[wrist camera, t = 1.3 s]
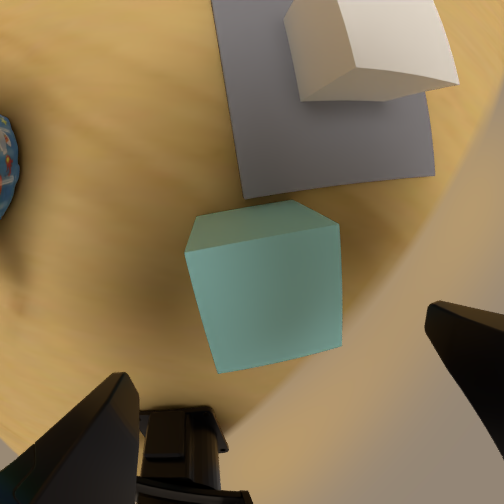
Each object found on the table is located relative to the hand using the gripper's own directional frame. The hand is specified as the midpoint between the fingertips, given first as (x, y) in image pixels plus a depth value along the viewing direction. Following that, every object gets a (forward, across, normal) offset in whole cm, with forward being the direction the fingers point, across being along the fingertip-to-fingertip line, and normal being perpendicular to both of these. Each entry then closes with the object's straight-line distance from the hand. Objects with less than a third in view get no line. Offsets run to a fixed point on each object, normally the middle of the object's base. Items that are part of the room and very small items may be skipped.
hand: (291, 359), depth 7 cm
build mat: (+8, -6, -10) cm, 15 cm away
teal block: (+9, 0, 0) cm, 9 cm away
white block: (+8, -6, -10) cm, 14 cm away
